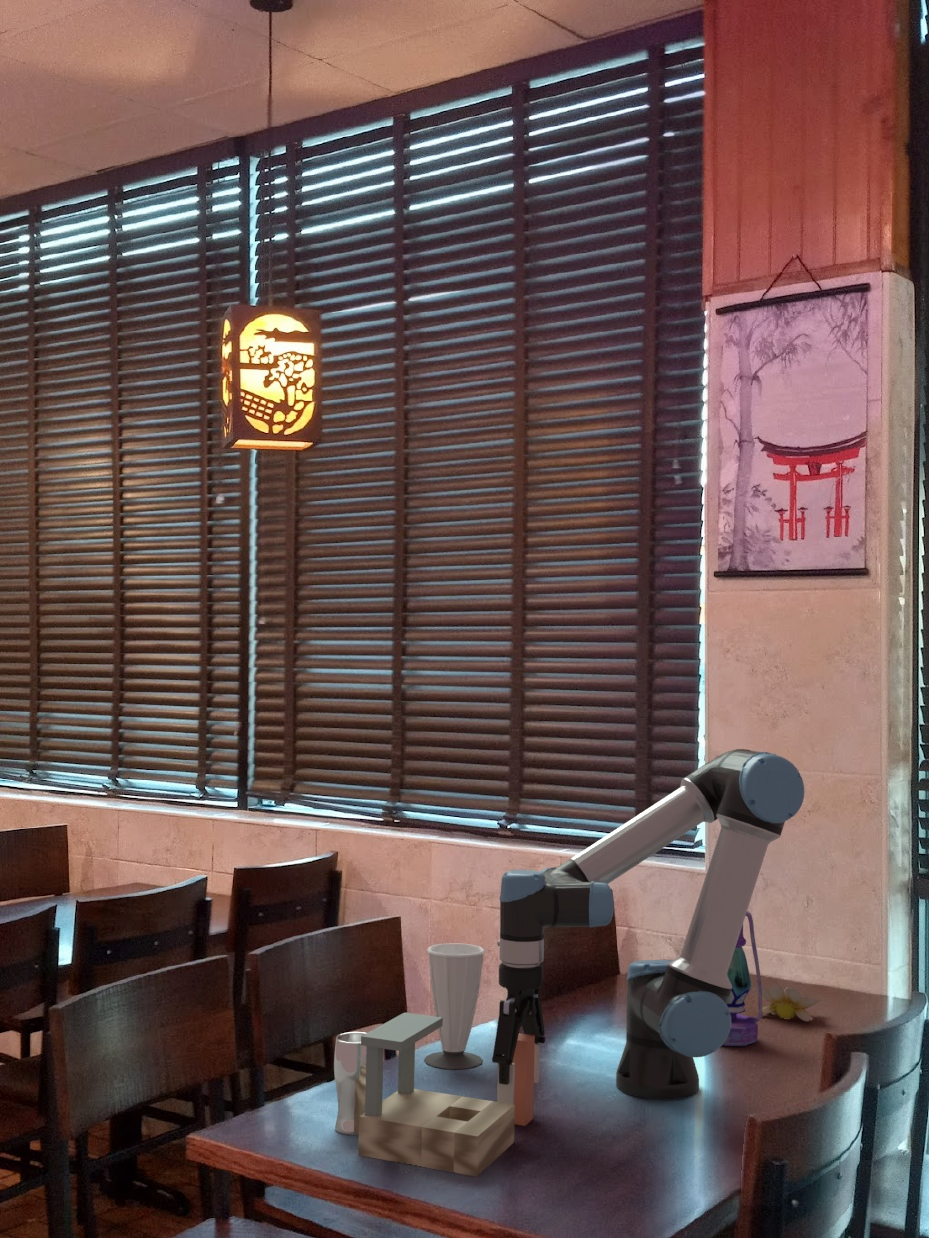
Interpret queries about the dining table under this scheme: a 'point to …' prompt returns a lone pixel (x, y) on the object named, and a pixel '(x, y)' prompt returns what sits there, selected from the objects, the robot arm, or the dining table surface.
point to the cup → (455, 1001)
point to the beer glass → (350, 1081)
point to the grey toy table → (394, 1037)
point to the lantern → (742, 993)
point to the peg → (524, 1079)
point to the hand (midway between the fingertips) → (518, 1091)
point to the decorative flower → (786, 1002)
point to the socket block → (438, 1131)
